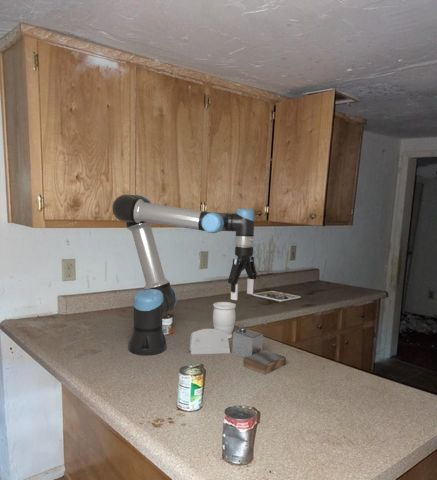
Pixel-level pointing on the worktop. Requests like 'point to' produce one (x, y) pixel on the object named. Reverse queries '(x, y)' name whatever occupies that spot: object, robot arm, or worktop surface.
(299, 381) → the worktop surface
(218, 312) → the jar
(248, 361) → the stand
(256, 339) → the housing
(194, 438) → the worktop surface
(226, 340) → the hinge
